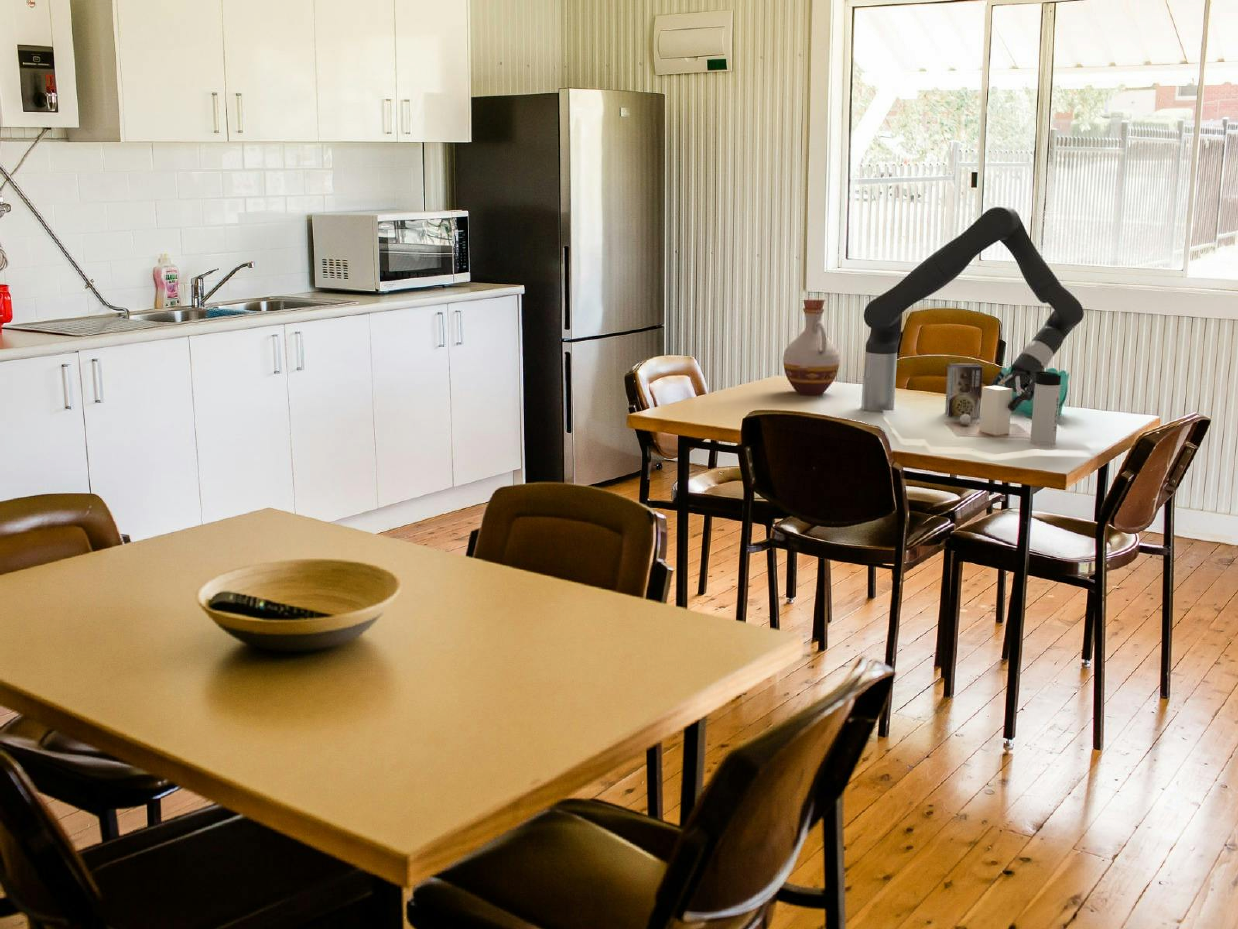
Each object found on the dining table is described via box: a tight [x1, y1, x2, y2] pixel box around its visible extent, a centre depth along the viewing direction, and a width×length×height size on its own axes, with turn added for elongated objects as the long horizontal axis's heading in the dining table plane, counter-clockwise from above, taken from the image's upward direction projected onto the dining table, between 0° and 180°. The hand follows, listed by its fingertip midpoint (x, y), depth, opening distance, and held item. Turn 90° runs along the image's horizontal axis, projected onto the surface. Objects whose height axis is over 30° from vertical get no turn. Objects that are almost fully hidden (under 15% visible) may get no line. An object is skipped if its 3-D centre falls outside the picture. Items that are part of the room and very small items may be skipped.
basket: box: [1000, 365, 1070, 419], centre depth 382 cm, size 19×18×13 cm
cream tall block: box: [979, 385, 1013, 435], centre depth 346 cm, size 5×6×12 cm
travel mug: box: [1029, 370, 1061, 445], centre depth 335 cm, size 6×7×20 cm
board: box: [943, 421, 1031, 439], centre depth 351 cm, size 20×20×2 cm
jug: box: [782, 298, 841, 396], centre depth 409 cm, size 20×18×30 cm
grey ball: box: [959, 414, 972, 425], centre depth 357 cm, size 3×3×3 cm
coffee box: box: [944, 362, 984, 419], centre depth 370 cm, size 9×6×16 cm
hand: (998, 406), depth 347 cm, fingers open, 8 cm apart
